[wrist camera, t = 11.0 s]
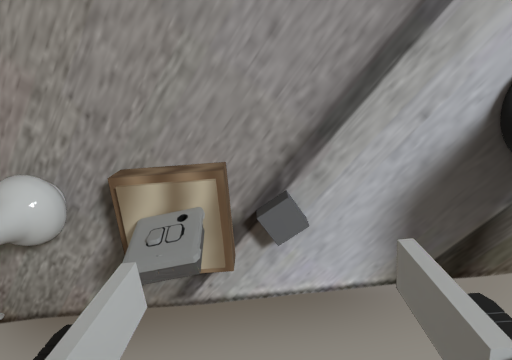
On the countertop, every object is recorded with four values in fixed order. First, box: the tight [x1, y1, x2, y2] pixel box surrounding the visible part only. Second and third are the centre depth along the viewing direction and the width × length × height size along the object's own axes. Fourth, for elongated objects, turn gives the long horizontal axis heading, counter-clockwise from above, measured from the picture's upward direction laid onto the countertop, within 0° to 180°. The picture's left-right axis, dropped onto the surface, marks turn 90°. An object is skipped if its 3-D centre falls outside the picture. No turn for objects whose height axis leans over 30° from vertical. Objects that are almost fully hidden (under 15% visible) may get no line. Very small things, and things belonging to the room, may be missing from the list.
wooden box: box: [108, 162, 235, 273], centre depth 42 cm, size 14×14×5 cm
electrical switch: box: [122, 207, 205, 285], centre depth 36 cm, size 8×5×8 cm, turn 102°
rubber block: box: [256, 191, 309, 246], centre depth 43 cm, size 5×5×3 cm
